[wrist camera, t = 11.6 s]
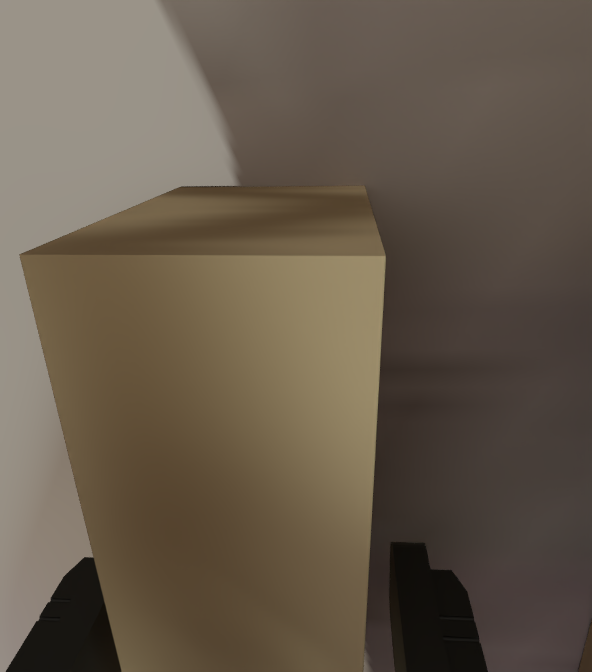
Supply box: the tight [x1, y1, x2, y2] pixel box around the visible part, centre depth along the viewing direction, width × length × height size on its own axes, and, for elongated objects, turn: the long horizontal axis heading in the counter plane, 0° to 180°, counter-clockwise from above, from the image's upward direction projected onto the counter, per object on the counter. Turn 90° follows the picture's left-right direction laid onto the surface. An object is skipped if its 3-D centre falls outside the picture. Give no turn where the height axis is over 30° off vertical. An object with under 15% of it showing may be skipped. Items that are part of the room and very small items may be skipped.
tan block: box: [20, 186, 386, 672], centre depth 11 cm, size 4×16×6 cm, turn 1°
